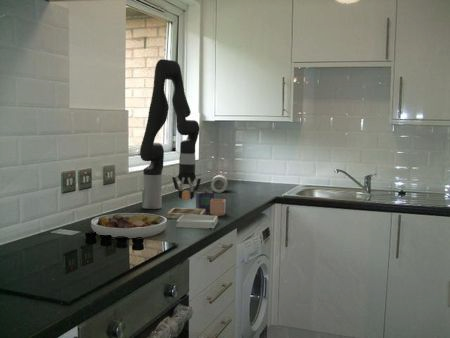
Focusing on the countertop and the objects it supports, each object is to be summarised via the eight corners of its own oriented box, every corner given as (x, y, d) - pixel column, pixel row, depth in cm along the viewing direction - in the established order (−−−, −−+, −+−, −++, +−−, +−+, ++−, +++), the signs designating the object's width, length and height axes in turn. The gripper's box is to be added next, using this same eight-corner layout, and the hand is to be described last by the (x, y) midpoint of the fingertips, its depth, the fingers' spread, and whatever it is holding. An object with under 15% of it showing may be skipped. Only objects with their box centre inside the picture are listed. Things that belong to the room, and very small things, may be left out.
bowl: (98, 224, 213) (98, 206, 212) (168, 224, 215) (168, 206, 214) (83, 241, 183) (83, 220, 183) (164, 241, 185) (164, 220, 185)
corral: (167, 217, 227) (167, 213, 227) (173, 212, 241) (173, 207, 241) (201, 219, 225) (201, 214, 225) (205, 213, 239) (205, 209, 239)
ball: (180, 200, 231) (180, 191, 230) (182, 198, 235) (182, 189, 235) (190, 201, 230) (190, 191, 230) (191, 199, 235) (192, 190, 234)
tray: (176, 227, 208) (176, 220, 208) (182, 220, 222) (182, 214, 222) (213, 228, 207) (213, 222, 207) (217, 221, 221) (217, 215, 220)
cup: (209, 215, 235) (209, 201, 234) (211, 212, 242) (211, 198, 241) (224, 216, 234) (224, 201, 233) (225, 213, 241) (225, 199, 240)
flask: (196, 210, 247) (196, 189, 246) (195, 209, 249) (195, 188, 248) (214, 209, 250) (214, 189, 248) (212, 208, 252) (212, 188, 251)
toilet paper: (211, 190, 318) (212, 174, 317) (227, 190, 318) (227, 175, 316) (210, 192, 308) (211, 176, 307) (226, 192, 308) (227, 177, 307)
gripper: (170, 162, 228) (169, 199, 230) (201, 164, 226) (199, 201, 228) (174, 161, 235) (173, 196, 237) (203, 162, 234) (202, 198, 236)
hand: (186, 198), depth 233 cm, fingers closed on ball, 4 cm apart
